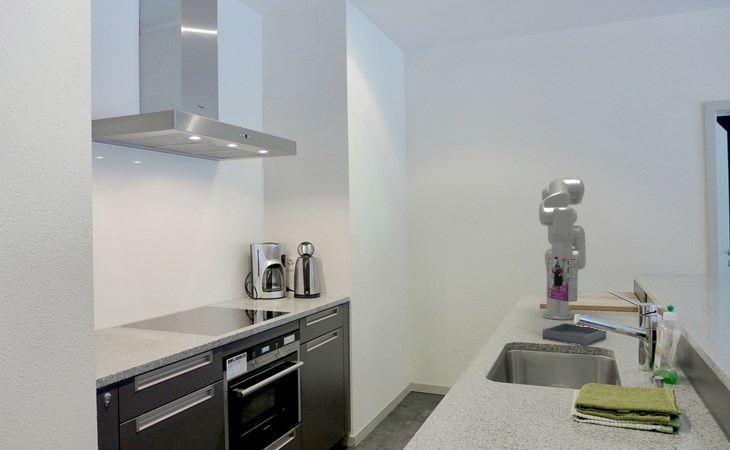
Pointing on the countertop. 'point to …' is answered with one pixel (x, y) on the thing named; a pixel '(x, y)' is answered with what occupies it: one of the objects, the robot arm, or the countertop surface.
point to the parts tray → (574, 334)
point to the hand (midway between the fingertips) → (562, 284)
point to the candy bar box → (564, 281)
